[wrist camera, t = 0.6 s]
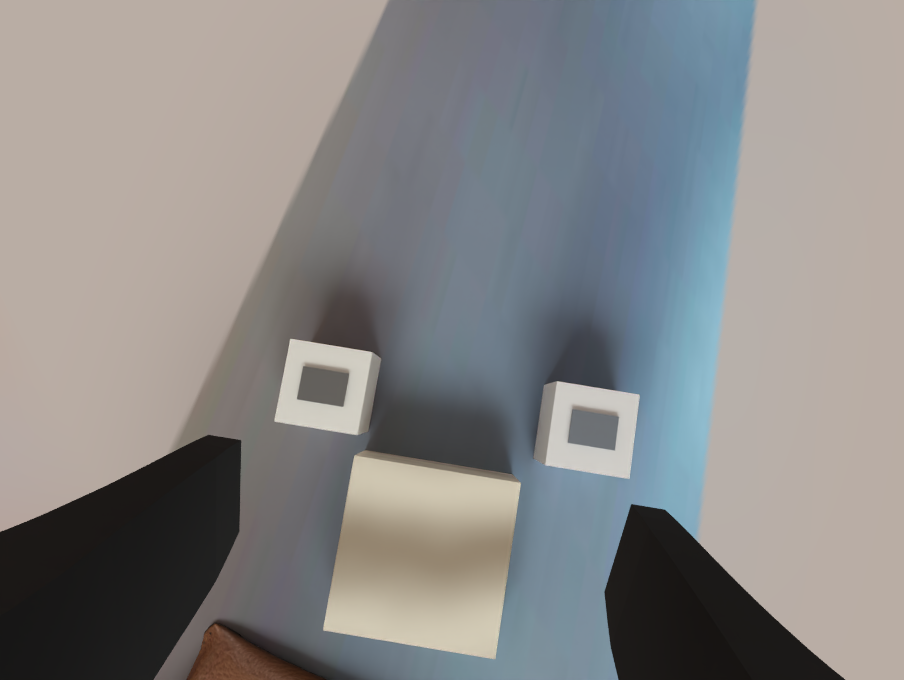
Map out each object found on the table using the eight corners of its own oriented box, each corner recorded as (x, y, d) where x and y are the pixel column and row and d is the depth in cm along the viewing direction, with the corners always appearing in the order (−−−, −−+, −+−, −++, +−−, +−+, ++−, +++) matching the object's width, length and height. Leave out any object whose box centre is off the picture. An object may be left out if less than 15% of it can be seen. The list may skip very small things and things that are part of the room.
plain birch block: (489, 627, 31) (495, 659, 27) (338, 601, 31) (323, 630, 27) (511, 473, 32) (520, 483, 28) (365, 449, 32) (354, 455, 28)
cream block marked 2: (368, 431, 32) (356, 435, 28) (295, 419, 32) (273, 421, 28) (381, 358, 32) (372, 351, 28) (309, 346, 32) (289, 338, 28)
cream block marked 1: (606, 470, 32) (630, 479, 28) (533, 458, 32) (545, 465, 28) (616, 396, 32) (641, 394, 28) (543, 384, 32) (557, 380, 28)
